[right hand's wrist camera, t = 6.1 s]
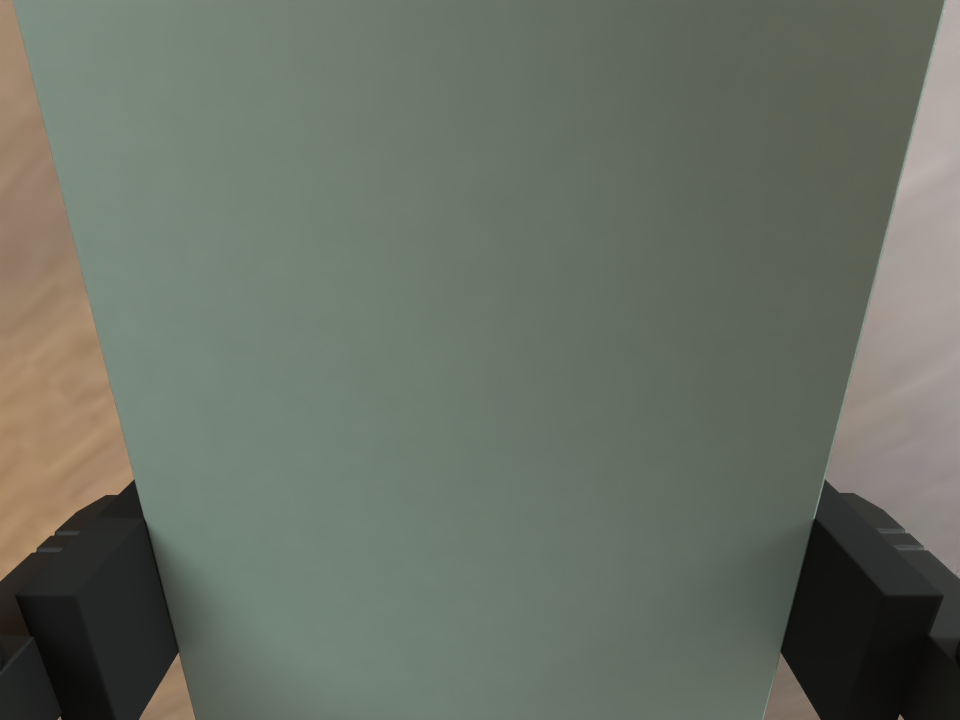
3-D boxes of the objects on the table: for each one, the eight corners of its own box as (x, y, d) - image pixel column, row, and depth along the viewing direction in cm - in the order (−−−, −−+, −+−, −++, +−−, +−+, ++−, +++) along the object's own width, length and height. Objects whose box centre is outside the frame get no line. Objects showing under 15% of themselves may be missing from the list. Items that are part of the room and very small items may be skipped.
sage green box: (286, -44, 15) (-98, -418, 5) (673, -44, 15) (1056, -417, 5) (340, 484, 20) (212, 794, 11) (619, 484, 20) (746, 794, 11)
